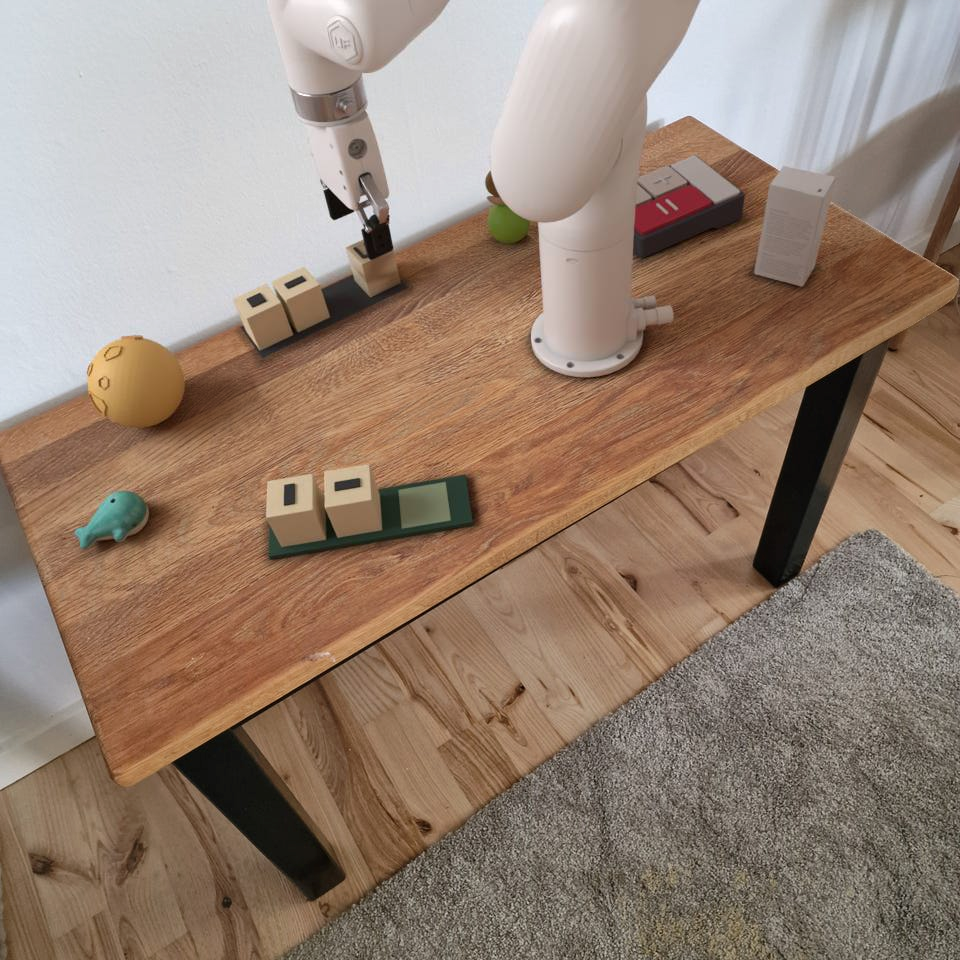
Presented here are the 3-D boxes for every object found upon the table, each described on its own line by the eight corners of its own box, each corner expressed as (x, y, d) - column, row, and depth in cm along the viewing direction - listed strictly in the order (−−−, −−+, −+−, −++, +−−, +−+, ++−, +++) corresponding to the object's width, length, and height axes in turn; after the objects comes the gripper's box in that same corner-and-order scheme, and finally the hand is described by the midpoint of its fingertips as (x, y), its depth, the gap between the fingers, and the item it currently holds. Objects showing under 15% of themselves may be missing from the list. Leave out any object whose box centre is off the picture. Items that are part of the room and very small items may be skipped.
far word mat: (382, 264, 107) (373, 226, 102) (409, 291, 103) (400, 252, 98) (241, 330, 102) (225, 293, 97) (263, 361, 98) (247, 324, 93)
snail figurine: (539, 249, 105) (535, 164, 96) (489, 253, 106) (480, 168, 97) (538, 224, 109) (533, 139, 99) (490, 228, 109) (480, 144, 100)
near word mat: (466, 477, 84) (459, 440, 79) (473, 525, 80) (466, 489, 75) (271, 510, 84) (253, 475, 79) (270, 560, 80) (250, 525, 75)
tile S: (384, 266, 106) (376, 231, 102) (401, 283, 103) (393, 248, 99) (354, 280, 105) (344, 246, 100) (370, 297, 102) (361, 263, 98)
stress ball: (201, 376, 97) (167, 310, 90) (194, 437, 91) (157, 372, 83) (117, 390, 97) (76, 325, 89) (105, 452, 91) (60, 389, 83)
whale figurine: (160, 530, 84) (144, 508, 81) (91, 567, 82) (72, 545, 79) (142, 493, 87) (126, 471, 84) (75, 528, 85) (56, 506, 82)
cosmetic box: (815, 267, 98) (838, 176, 88) (802, 288, 96) (825, 197, 86) (765, 254, 100) (782, 164, 91) (751, 274, 98) (768, 184, 89)
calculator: (595, 191, 106) (695, 148, 108) (596, 219, 109) (694, 177, 111) (641, 234, 99) (747, 188, 101) (641, 263, 103) (743, 218, 105)
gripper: (401, 115, 81) (424, 257, 95) (325, 52, 91) (356, 190, 104) (333, 142, 79) (367, 283, 93) (263, 75, 89) (303, 212, 102)
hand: (361, 234), depth 99 cm, fingers open, 9 cm apart
